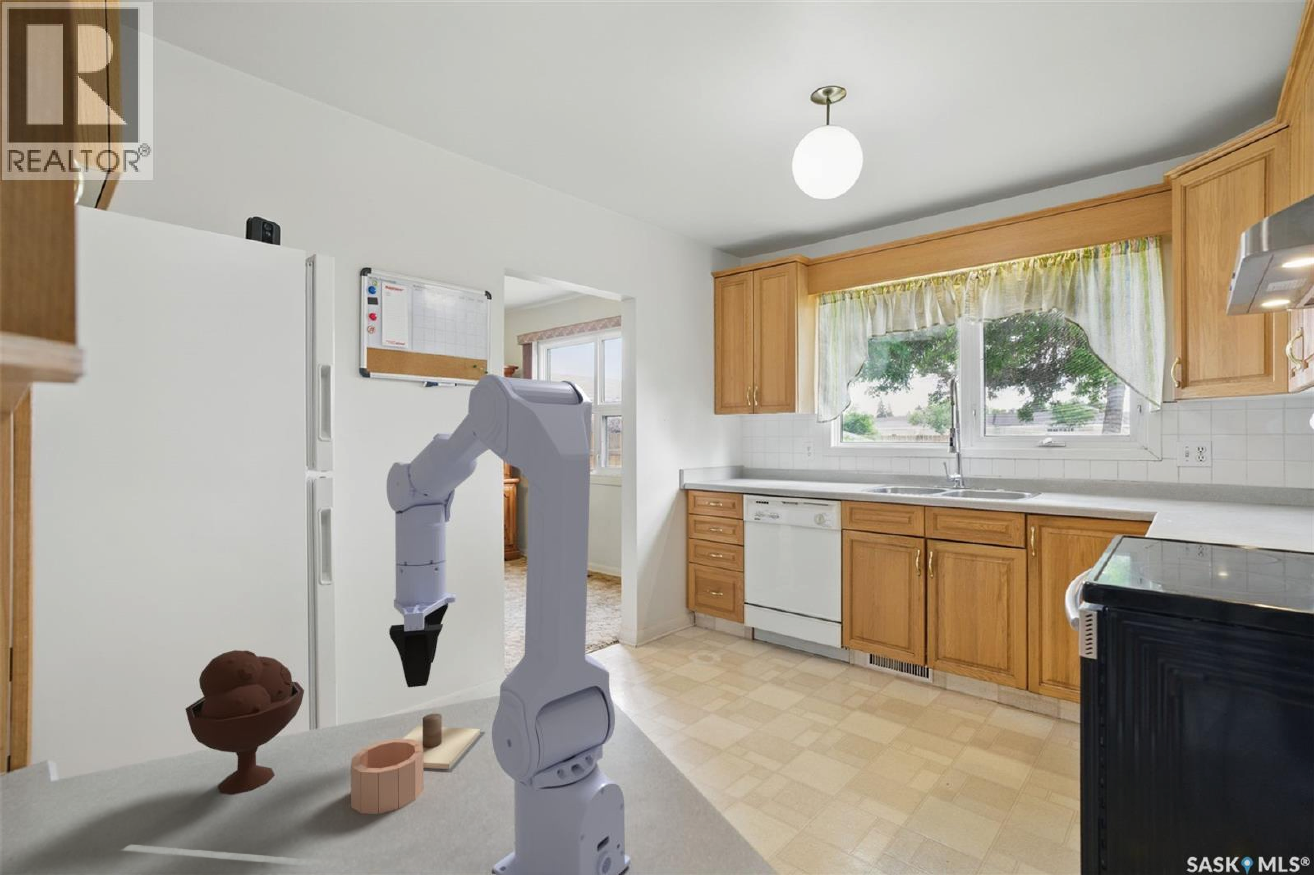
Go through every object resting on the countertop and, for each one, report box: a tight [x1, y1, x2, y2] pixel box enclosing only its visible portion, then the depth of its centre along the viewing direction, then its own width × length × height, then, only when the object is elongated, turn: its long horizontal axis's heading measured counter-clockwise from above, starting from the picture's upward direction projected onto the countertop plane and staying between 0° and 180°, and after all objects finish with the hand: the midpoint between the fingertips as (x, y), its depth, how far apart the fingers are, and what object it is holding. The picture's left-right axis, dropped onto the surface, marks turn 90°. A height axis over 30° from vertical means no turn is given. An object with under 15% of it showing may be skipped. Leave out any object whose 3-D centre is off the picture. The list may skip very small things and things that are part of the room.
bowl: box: [350, 738, 424, 815], centre depth 65 cm, size 7×7×4 cm
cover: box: [402, 713, 481, 769], centre depth 74 cm, size 9×9×4 cm
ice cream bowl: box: [185, 649, 305, 795], centre depth 68 cm, size 11×11×15 cm
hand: (421, 673), depth 73 cm, fingers open, 7 cm apart
